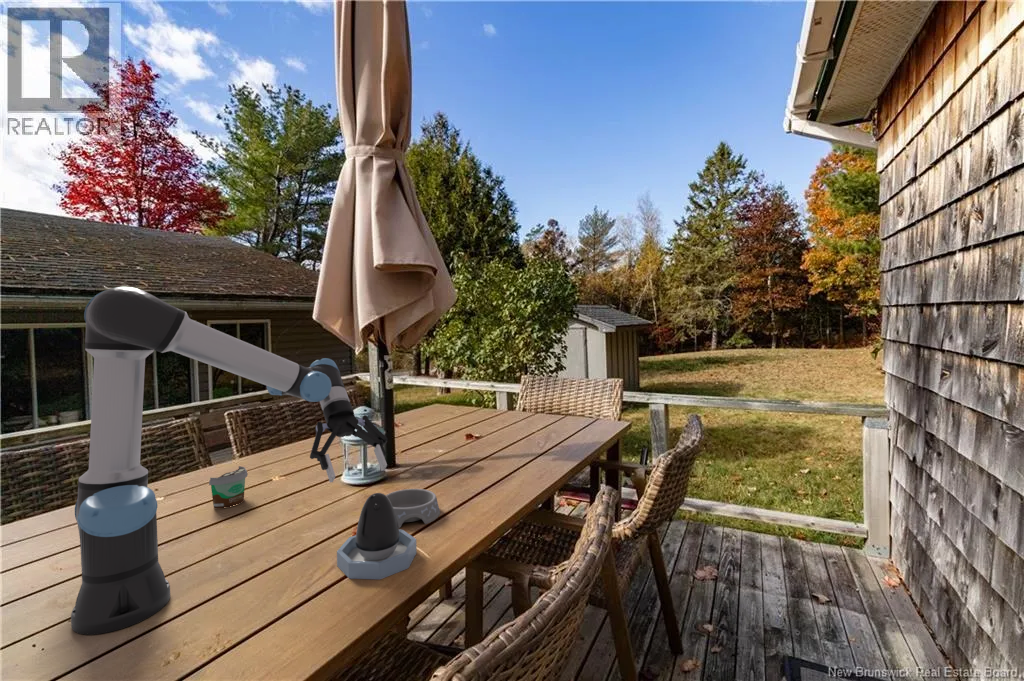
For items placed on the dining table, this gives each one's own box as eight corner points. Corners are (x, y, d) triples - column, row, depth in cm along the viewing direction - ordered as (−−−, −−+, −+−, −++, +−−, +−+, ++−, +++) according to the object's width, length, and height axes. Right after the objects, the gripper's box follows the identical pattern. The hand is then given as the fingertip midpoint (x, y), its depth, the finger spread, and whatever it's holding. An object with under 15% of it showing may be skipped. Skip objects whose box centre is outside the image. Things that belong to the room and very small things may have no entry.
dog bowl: (374, 508, 143) (374, 491, 143) (434, 500, 149) (434, 484, 149) (379, 532, 127) (378, 513, 127) (445, 522, 133) (445, 503, 133)
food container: (227, 512, 140) (226, 479, 139) (209, 510, 141) (208, 478, 141) (257, 497, 152) (256, 466, 152) (241, 495, 153) (240, 465, 153)
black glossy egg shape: (354, 569, 106) (353, 504, 105) (357, 548, 116) (356, 488, 115) (400, 563, 109) (399, 499, 108) (399, 543, 119) (398, 484, 118)
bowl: (402, 580, 103) (401, 564, 103) (327, 577, 104) (327, 562, 104) (421, 543, 120) (421, 529, 120) (357, 541, 121) (356, 528, 121)
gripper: (375, 409, 140) (399, 470, 129) (285, 421, 123) (305, 492, 113) (382, 393, 136) (408, 456, 125) (291, 403, 119) (312, 476, 109)
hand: (359, 473), depth 119 cm, fingers open, 13 cm apart
